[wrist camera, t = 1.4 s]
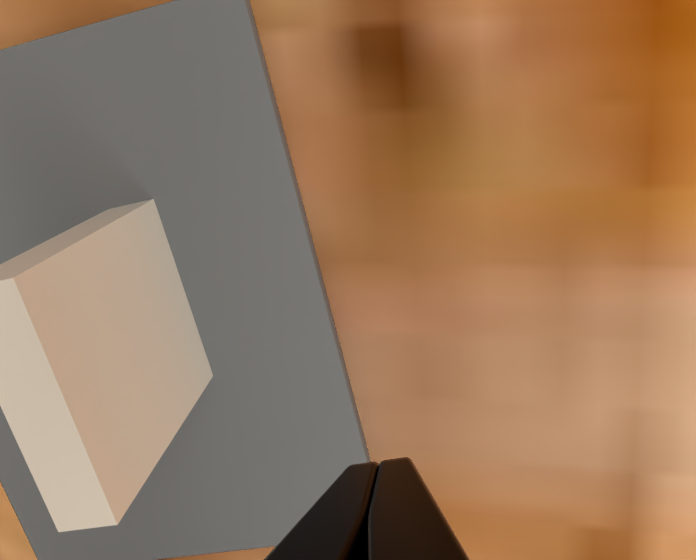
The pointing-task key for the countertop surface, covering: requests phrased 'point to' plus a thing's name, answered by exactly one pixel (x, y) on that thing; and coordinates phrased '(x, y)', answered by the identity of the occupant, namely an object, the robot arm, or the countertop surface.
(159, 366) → the tile
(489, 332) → the countertop surface
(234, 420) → the mat
